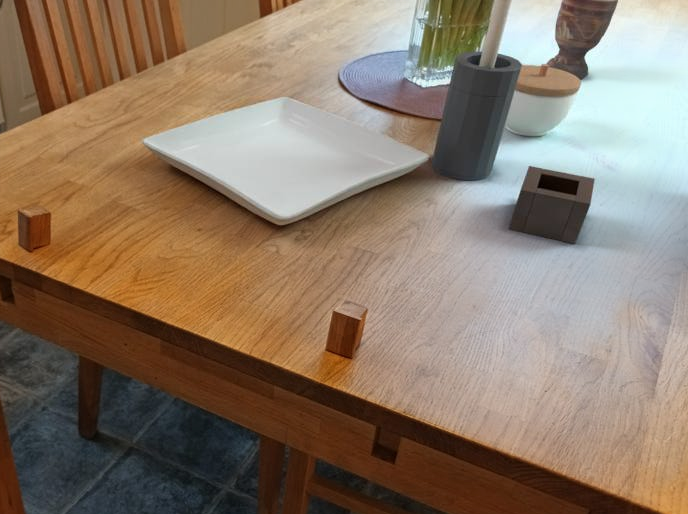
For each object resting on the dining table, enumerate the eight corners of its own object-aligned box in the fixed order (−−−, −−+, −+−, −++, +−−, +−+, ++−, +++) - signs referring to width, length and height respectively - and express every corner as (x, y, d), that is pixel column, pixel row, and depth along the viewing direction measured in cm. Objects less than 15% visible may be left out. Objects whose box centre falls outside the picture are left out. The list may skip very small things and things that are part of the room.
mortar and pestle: (546, 58, 136) (583, -62, 124) (595, 66, 133) (638, -57, 121) (537, 75, 128) (576, -51, 116) (589, 84, 125) (634, -45, 113)
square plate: (138, 164, 96) (137, 136, 94) (283, 118, 110) (285, 92, 108) (279, 245, 81) (282, 214, 78) (428, 179, 94) (435, 151, 92)
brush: (475, 161, 98) (523, -17, 84) (471, 170, 95) (520, -12, 82) (452, 156, 99) (495, -21, 85) (447, 165, 97) (491, -15, 83)
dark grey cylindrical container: (495, 163, 99) (525, 57, 90) (485, 185, 93) (516, 75, 85) (438, 151, 101) (462, 48, 93) (425, 172, 96) (450, 64, 87)
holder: (580, 216, 87) (595, 178, 84) (575, 244, 82) (590, 204, 79) (517, 203, 90) (529, 165, 86) (508, 229, 84) (520, 189, 81)
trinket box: (488, 137, 106) (506, 72, 100) (489, 112, 114) (505, 50, 108) (566, 147, 104) (589, 81, 98) (560, 120, 112) (582, 58, 106)
